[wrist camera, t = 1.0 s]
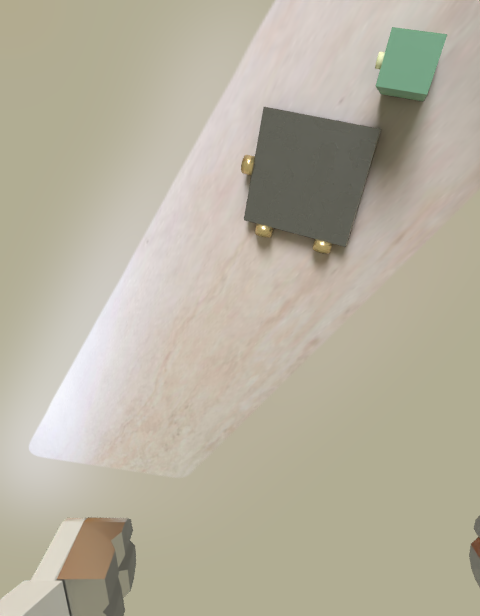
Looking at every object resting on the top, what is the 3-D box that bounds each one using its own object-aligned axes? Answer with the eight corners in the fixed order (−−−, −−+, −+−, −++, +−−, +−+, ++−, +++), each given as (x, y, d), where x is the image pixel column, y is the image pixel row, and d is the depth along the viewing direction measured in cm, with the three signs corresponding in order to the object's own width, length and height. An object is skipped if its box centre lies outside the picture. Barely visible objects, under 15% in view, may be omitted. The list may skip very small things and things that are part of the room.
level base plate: (257, 105, 44) (251, 104, 43) (381, 129, 41) (380, 129, 39) (237, 224, 50) (231, 228, 48) (344, 253, 47) (341, 258, 45)
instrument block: (388, 45, 38) (384, 26, 32) (439, 52, 37) (447, 34, 30) (374, 93, 40) (368, 84, 33) (423, 101, 39) (427, 94, 32)
